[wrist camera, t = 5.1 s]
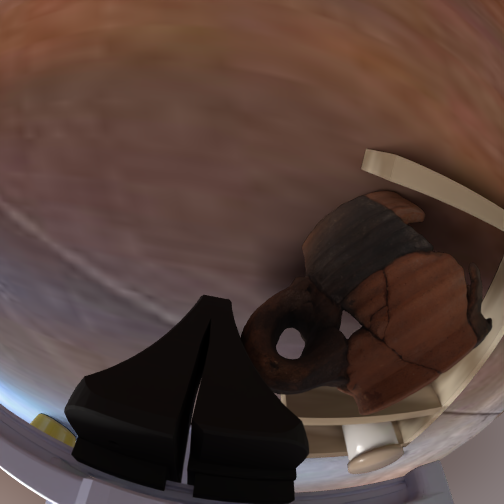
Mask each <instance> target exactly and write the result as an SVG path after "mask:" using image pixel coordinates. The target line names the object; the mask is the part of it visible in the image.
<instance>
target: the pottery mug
mask: <svg viewBox="0 0 504 504" xmlns="http://www.w3.org/2000/svg"><path fill="white" fill-rule="evenodd" d="M424 218H425V213H424V212H423V210H422V209H421V208H419V207H418V206H417V205H415V204H413V203H412V202H410V201H408V200H407V199H404V198H402V197H401V196H400V195H399V194H397V193H396V192H391V191H377V192H374V193H369V194H367V195H365V196H360V197H357V198H355V199H353V200H351V201H350V202H347V203H344V204H342V205H341V206H339V207H338V208H337V209H336V210H334V211H333V212H331V213H330V214H328V215H327V216H326V217H325V218H324V219H322V220H321V221H320V222H319V223H318V224H317V225H316V227H315V228H314V230H313V231H312V232H311V233H310V234H309V236H308V237H307V239H306V240H305V242H304V244H303V245H302V251H303V254H304V258H305V268H306V277H297V278H296V279H295V280H294V281H293V283H292V284H291V286H290V287H288V288H286V289H284V290H282V291H280V292H279V293H277V294H275V295H274V296H272V297H271V298H269V299H268V300H267V301H266V302H265V303H263V304H262V305H261V306H260V307H258V308H257V309H256V311H255V312H254V313H253V314H252V315H251V317H250V318H249V320H248V321H247V323H246V325H245V326H244V328H243V332H242V334H241V340H242V343H243V345H244V347H245V349H246V351H247V353H248V355H249V357H250V359H251V361H252V363H253V364H254V366H255V368H256V369H257V371H258V372H259V374H260V376H261V377H262V378H263V380H264V381H265V382H266V384H267V385H268V386H269V387H270V389H271V390H272V391H273V392H274V393H277V394H282V395H292V394H299V393H304V392H307V391H309V390H312V389H315V388H318V387H321V386H329V387H337V389H338V390H339V391H341V392H343V393H345V394H349V395H350V396H353V397H354V399H355V401H356V403H357V405H358V408H359V413H360V414H361V415H369V414H372V413H375V412H378V411H381V410H383V409H386V408H388V407H390V406H392V405H394V404H396V403H398V402H400V401H401V400H403V399H405V398H407V397H409V396H410V395H412V394H414V393H416V392H417V391H419V390H421V389H422V388H423V387H425V386H427V385H429V384H430V383H432V382H433V381H434V380H436V379H437V378H438V377H439V376H440V375H441V374H442V373H445V372H447V371H448V370H449V369H451V368H452V367H453V366H454V365H456V364H457V363H458V362H460V361H461V360H462V359H463V358H464V357H465V356H466V355H468V354H469V353H470V352H471V351H472V350H473V349H475V348H476V347H477V346H478V345H480V344H481V343H482V341H483V340H484V339H485V337H486V336H487V335H488V334H489V332H490V331H491V329H492V319H491V318H488V319H485V318H484V316H483V315H482V313H481V304H482V282H481V278H480V271H479V269H478V267H477V266H476V265H475V264H474V263H470V266H469V274H470V279H471V286H469V285H466V282H465V277H464V270H463V268H462V267H461V266H460V265H459V264H458V263H457V261H456V260H455V259H454V258H453V257H452V256H451V255H450V254H447V253H440V252H437V253H435V252H433V246H432V245H431V244H430V243H429V242H428V241H427V240H426V239H425V238H424V237H423V236H422V235H421V234H418V233H417V232H416V231H415V230H414V229H413V228H412V227H411V226H409V225H407V224H408V223H415V222H423V220H424ZM343 310H345V311H346V312H348V313H350V314H351V315H352V316H353V317H354V318H355V319H356V320H357V321H358V322H359V323H360V324H361V325H362V327H361V328H360V329H359V330H357V331H356V332H354V333H353V334H352V335H351V336H350V338H349V339H346V337H345V336H344V334H343V333H342V332H341V331H339V329H340V325H341V316H342V311H343ZM286 328H295V329H296V330H298V331H299V332H300V334H301V337H302V339H303V340H304V341H305V347H304V349H303V352H302V354H301V356H300V358H298V359H286V358H284V357H282V356H280V355H279V354H278V352H277V350H276V344H277V342H278V340H279V337H280V336H281V334H282V332H283V331H284V330H285V329H286Z"/></svg>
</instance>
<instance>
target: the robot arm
mask: <svg viewBox="0 0 504 504" xmlns="http://www.w3.org/2000/svg"><path fill="white" fill-rule="evenodd" d="M201 378H202V379H201ZM200 382H201V383H200ZM199 385H200V388H199ZM198 388H199V392H198V396H197V400H196V405H195V409H194V413H193V408H194V403H195V399H196V395H197V391H198ZM64 412H65V415H66V417H67V419H68V421H69V423H70V424H71V426H72V427H73V429H74V430H75V432H76V433H77V435H78V438H77V441H76V443H75V446H74V448H73V447H71V446H69V445H67V444H65V443H63V442H61V441H59V440H57V439H55V438H53V437H51V436H50V435H48V434H46V433H44V432H42V431H41V430H39V429H37V428H36V427H34V426H32V425H31V424H29V423H27V422H26V421H24V420H23V419H21V418H20V417H18V416H17V415H15V414H14V413H12V412H11V411H9V410H8V409H6V408H5V407H4V406H2V405H1V404H0V468H1V469H2V470H4V471H5V472H6V473H8V474H9V475H10V476H11V477H13V478H14V479H16V480H17V481H19V482H20V483H21V484H23V485H24V486H26V487H27V488H29V489H30V490H32V491H33V492H35V493H36V494H38V495H40V496H41V497H43V498H45V499H46V503H45V504H454V503H453V499H452V496H451V493H450V489H449V486H448V483H447V480H446V477H445V474H444V471H443V468H442V465H441V462H440V460H437V461H434V462H431V463H428V464H425V465H422V466H419V467H417V468H415V469H413V470H411V471H410V472H408V473H407V474H406V475H405V476H403V477H399V478H395V479H391V480H387V481H383V482H378V483H373V484H368V485H363V486H357V487H351V488H344V489H336V490H327V491H316V492H301V493H294V480H296V468H297V467H298V466H299V465H300V464H301V463H302V462H303V461H304V460H305V459H306V458H307V456H308V455H309V442H308V438H307V435H306V431H305V428H304V425H303V422H302V420H300V419H299V418H298V417H297V416H296V415H295V414H294V413H293V412H292V411H290V410H289V409H288V408H287V407H286V406H285V405H284V404H283V403H282V402H281V401H280V399H279V398H278V397H277V396H276V395H275V394H274V393H273V391H272V390H271V389H270V387H269V386H268V385H267V384H266V382H265V381H264V380H263V378H262V377H261V376H260V374H259V372H258V371H257V369H256V368H255V366H254V364H253V363H252V361H251V359H250V357H249V355H248V353H247V351H246V349H245V347H244V345H243V343H242V340H241V338H240V335H239V333H238V330H237V327H236V324H235V320H234V316H233V312H232V302H231V301H230V300H229V299H223V298H218V297H213V296H207V295H203V296H201V297H200V299H199V300H198V301H197V303H196V304H195V305H194V307H193V308H192V309H191V310H190V311H189V312H188V313H187V314H186V316H185V317H184V318H183V319H182V320H181V321H180V322H179V323H178V324H177V325H176V326H174V327H173V328H172V329H171V330H170V331H169V332H168V333H167V334H165V335H164V336H163V337H162V338H160V339H159V340H158V341H157V342H155V343H154V344H152V345H151V346H149V347H148V348H146V349H145V350H143V351H142V352H140V353H138V354H137V355H135V356H133V357H131V358H130V359H128V360H125V361H123V362H121V363H119V364H117V365H115V366H113V367H111V368H108V369H106V370H103V371H100V372H97V373H94V374H91V375H88V376H84V378H83V379H82V380H81V382H80V383H79V384H78V386H77V387H76V388H75V390H74V392H73V393H72V395H71V397H70V399H69V401H68V403H67V405H66V407H65V411H64ZM192 413H193V417H192ZM191 419H192V425H190V424H191ZM91 476H92V477H94V478H92V477H91Z"/></svg>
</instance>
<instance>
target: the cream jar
mask: <svg viewBox="0 0 504 504" xmlns="http://www.w3.org/2000/svg"><path fill="white" fill-rule="evenodd" d="M342 429H343V433H344V438H345V443H346V448H347V452H348V457H349V463H348V464H347V466H348V471H349V473H351V474H362V473H367V472H371V471H375V470H378V469H381V468H383V467H385V466H388V465H390V464H391V463H393V462H395V461H396V460H398V459H399V458H400V457H402V455H403V454H404V451H403V447H402V445H401V444H398V441H397V437H396V434H395V431H394V428H393V426H392V423H391V421H388V422H379V423H368V424H353V425H342Z"/></svg>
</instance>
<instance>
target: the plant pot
mask: <svg viewBox="0 0 504 504" xmlns="http://www.w3.org/2000/svg"><path fill="white" fill-rule="evenodd" d="M30 424H31V425H32V426H34V427H36V428H37V429H39V430H41V431H42V432H44V433H46V434H48V435H50V436H51V437H53V438H55V439H57V440H59V441H61V442H63V443H65V444H67V445H69V446H71V447H73V448H74V446H75V443H76V438H75V436H74V435H73V434H72V433H71V432H70V431H69V430H68V429H67V428H65V427H64V426H63V425H61V424H60V423H58V422H57V421H55V420H54V419H52V418H50V417H48V416H46V415H44V414H38V416H37V417H36V418H35V419H34V420H33V421H32V422H31V423H30Z"/></svg>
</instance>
